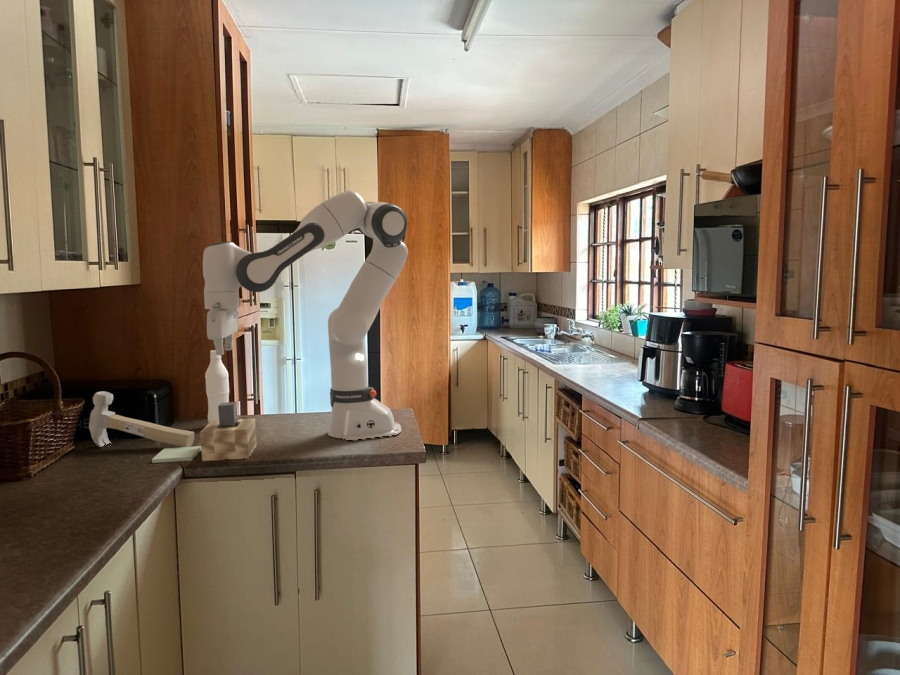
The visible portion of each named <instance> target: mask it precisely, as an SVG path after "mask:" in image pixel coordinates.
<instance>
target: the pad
mask: <svg viewBox="0 0 900 675" xmlns="http://www.w3.org/2000/svg"><path fill="white" fill-rule="evenodd" d="M200 452H202V451H201V445H197V446H194V445H193V446H191V447H179V446H176V447H164V448H163V449H162V450H161V451H159V452H158V453H157V454H156V455H155V456H154V457H152V459H151V463H152V464H155V463H156V464H157V463H159V464H160V463H172V462H175V463H176V462H188V461H190V462H191V461H193V459H194V458H195V457H196V456H197V455H198V454H199V453H200Z"/></svg>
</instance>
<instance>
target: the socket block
mask: <svg viewBox="0 0 900 675" xmlns="http://www.w3.org/2000/svg"><path fill="white" fill-rule="evenodd" d="M256 426H257V424H256V418H239V419H238V426H237V427H226V428H220V427H219V420H215V421H211V422H210V423H209V422H208V423H207V425H206V426H204V427H203V429H201V431H199V433H200V434H199V435H200V446H201V451H200V452H201V461H202V462H207V461H211V460H212V461H226V460H225V459H229V460H241V459H243V458H245V459H250V457H249V456H251V455H252V454H253V452H254V451H253V450H255V449H256V448H257V446H256V445H257V428H256ZM254 448H255V449H254ZM251 453H252V454H251Z"/></svg>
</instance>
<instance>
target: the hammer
mask: <svg viewBox="0 0 900 675" xmlns="http://www.w3.org/2000/svg"><path fill="white" fill-rule="evenodd" d="M113 402H114V394H113V393H111V392H108V391H102V390H101V391H97V392H95V393H94V395H93V397H92V403H93V405H94V407H93V409H92V410H91V412H90V416H89V420H88V422H89V423H88V429H89V432H90V435H91V436H90V437H91V439H92V440H93V442H94V444H96V445H97V447H99V448H100V447H102V446H104V445H105V444H106V445H107V444H109V443H111V444H112V442H111V441H110V440H109V437H108V432H107V429H114V430H118V431H121V432H124V433H129V434H133V435H136V436H139V437H142V438H146V439H149V440H150V441H151V440H152V441H155V442H160V443H165V444H168V445H172V446H176V447H193V444H194V440H195V438H196V437H195V432H194V431H190V430H185V429H179V428H173V427H170V426H165V425H162V424H161V425H160V424H158V423H157V424H156V423H152V422H149V421H146V420H145V421H143V420H142V419H141V420H140V419H135V418H131V417H126V416H123V415H119V414H116V412H115V411H110V410H109V405H112V403H113ZM106 445H105V446H106Z"/></svg>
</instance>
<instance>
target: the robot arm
mask: <svg viewBox="0 0 900 675" xmlns="http://www.w3.org/2000/svg"><path fill="white" fill-rule="evenodd" d="M407 229H408V218H407V215H406V213H405V212H404V211H403V209H402V208H401V207H399V206H398V205H396V204H394V203H388V202H385V201H384V202H382V201H378V202H374V201H371V202H370V201H367V202H365V200H364V198H363V197H362V196H361V195H360V194H359V193H357V192H356V191H354V190H345V191H343V192H340V193H337V194H335V195H333V196H332V197H330V198H327V199H326V200H324V201H322V202H321V203H320V204H317V205H315V207H314V208H313V209H311V210H310V211H309V212H308V213H307V214H306V215H305V216H304V217H303V218H302V219H301V221H300V223H299V225H298V226H297V228H296V229H295V230H294V231H293V232H292V233H291V234H290V235H288V236H287V237H286V238H284V239H282V240H281V241H280V242H277V244H275V245H273V246H272V247H271V248H269V249H266V250H264V251H260V252H259V251H258V252H251V251H248V250H246V249H244V248H241V247H240V246H239V245H237V244H235V242H233V241H221V242H214V243H211V244H209V245H207V246H206V247H205V248H204V250H203V256H202V277H203V279H204V288H203V297H204V298H203V299H204V309H205V310H209V311H207V314H206V337H207V339H208V340H212V341H213V345H214V348H215V349H214V350H216V355H221V356H223V355H224V354H225V351H226V352H227V351H231V350H233V340H234V334H236V333H238V331H239V323H240V319H239V316H240V310H239V308H240V307H241V305H242V304H241V302H242V301H241V299H240V293H239V292H240V290H239V289H240V288H241V287H242V288H244V289H245V290H247V291H250V292H253V293H262V292H265V291H268V290H269V289H271V287H273V286H274V285H275V283H276V281H277V279H278V278H279V276H280V274H281V273H282V272H283V271H284V270H286V268H287V267H289V266H291V265H292V264H293V263H295V262H296V261H298V260H299V259H300V258H302V257H303V256H304V255H306V254H308V253H311V252H312V251H315V250H318V249H322V248H324V247H327V246H330V245H331V244H333V243H335V242H337V241H338V240H340V239H342V238H343V237H344V236H346V235H347V234H349V233H350V232H352V231H354V230H358V232H359V233H361V234H362V235H364V236H365V237H368V238H370V239H372V241H373V242H372V248H371V250H370V253H369V254H368V256H367V257H366V259H365V260H364V262H363V264H362V265H361V266H360V268H359V270H358V271H357V273H356V275H355V277H354V279H353V280H352V281H351V284H349V285H350V286H349V288H348V289H347V291H346V294H344V297H343V299H342V300H341V303H340V305H338V307H336V308H335V309H334V310H332V312H330V314H329V316H328V320H327V334H328V347H329V350H328V351H329V361H330V382H331V384H330V385H331V386H330V387H331V388H330V389H329V390H330V391H329V401H330V402H329V404H330V407H331V412H330V414H331V415H330V422H329V427H328V432H327V434H328V436H330V437H331V438H336V439H341V438H342V440H344V439H345V440H344V441H347V440H353V441H359V440H358V439H362V440H367V439H366V438H371V439H376V438H375V437H380V438H383V437H382V436H389V437H393V436H392V435H397V434H399V433H400V432H401V433H402V426H401V424H400V423H399V422H397V421H395V418H394V415H393V413H392V411H391V408H389V407H388V406H387V405H385V404H383V402H381V401H379V400H378V399H376V396H377V391H376V390H375V388H374V387H371V386H369V384H368V382H369V381H368V380H369V379H368V378H369V376H368V358H367V352H366V343H365V342H366V340H365V339H366V338H365V337H366V335H367V334H368V332H369V330H370V328H371V326H372V325H373V323H374V321H375V319H376V317H377V315H378V314H379V311H380V309H381V307H382V305H383V302H384V301H385V300H386V298H387V296H388V294H389V293H390V291H391V290H392V288H393V286H394V285H395V283H396V281H397V279H398V278H399V276H400V274H401V273H402V271H403V268H404V266H405V263H406V262H407V258H408V257H409V256H408V255H409V249H408V247H407V245H406V243H405V242H404V241H405V238H406V232H407ZM401 433H400V434H401ZM400 434H399V435H400ZM397 436H398V435H397Z"/></svg>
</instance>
